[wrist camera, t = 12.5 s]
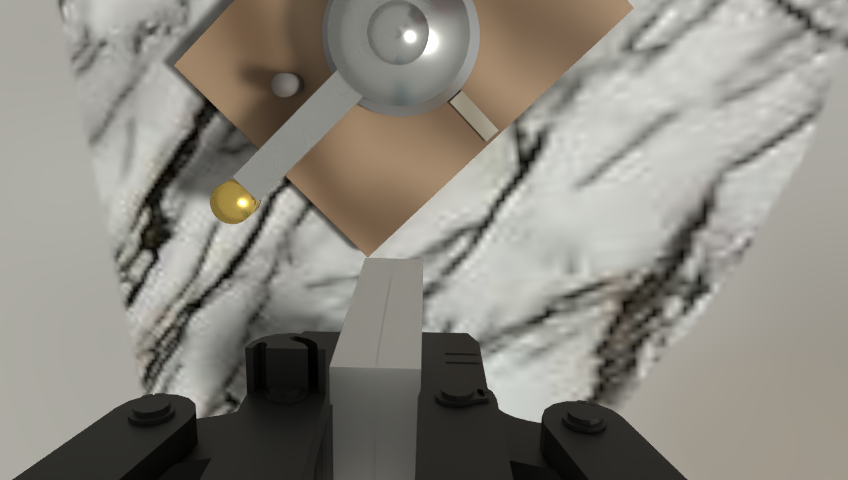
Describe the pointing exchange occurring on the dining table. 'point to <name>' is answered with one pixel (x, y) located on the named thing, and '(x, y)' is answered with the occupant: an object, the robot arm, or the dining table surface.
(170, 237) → the dining table surface
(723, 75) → the dining table surface
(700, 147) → the dining table surface
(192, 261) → the dining table surface
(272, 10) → the post board
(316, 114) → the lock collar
